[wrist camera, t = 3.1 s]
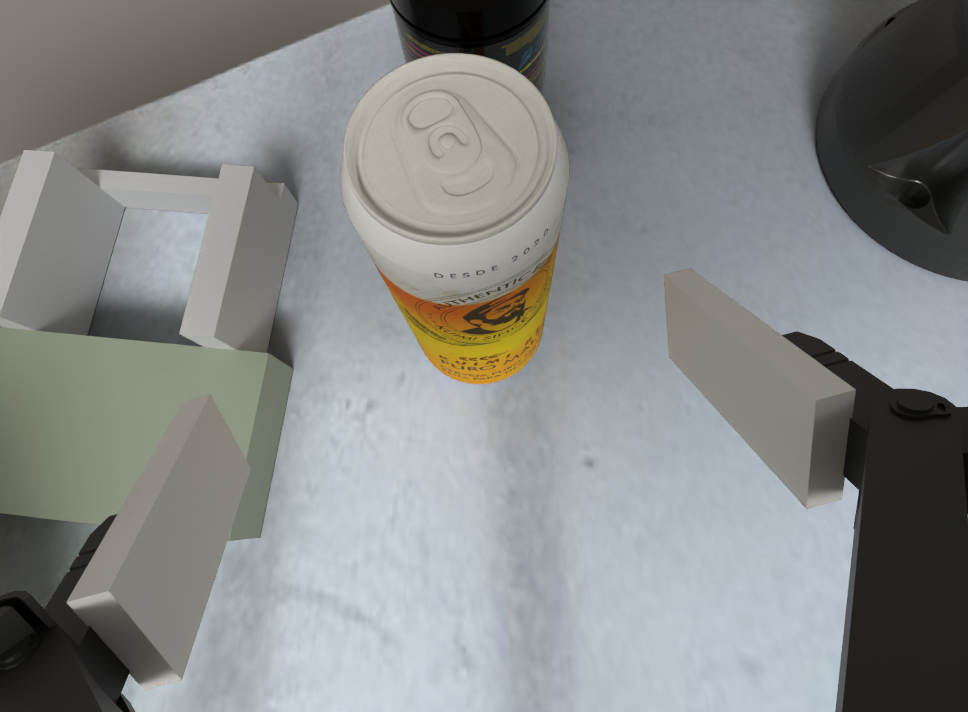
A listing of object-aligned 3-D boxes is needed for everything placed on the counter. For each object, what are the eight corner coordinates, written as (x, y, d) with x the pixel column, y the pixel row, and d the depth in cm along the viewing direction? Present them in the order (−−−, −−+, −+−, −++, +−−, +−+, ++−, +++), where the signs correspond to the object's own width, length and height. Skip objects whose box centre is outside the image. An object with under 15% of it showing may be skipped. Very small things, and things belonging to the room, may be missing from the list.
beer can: (454, 410, 28) (392, 301, 13) (399, 305, 29) (288, 103, 15) (564, 350, 28) (621, 182, 14) (504, 250, 30) (498, 3, 15)
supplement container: (553, 78, 32) (572, -118, 22) (528, 184, 31) (536, 24, 20) (437, 60, 33) (403, -139, 23) (406, 162, 31) (356, -3, 21)
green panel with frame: (325, 205, 31) (291, 149, 26) (259, 537, 26) (204, 543, 22) (78, 186, 32) (0, 128, 27) (-23, 503, 27) (-137, 502, 23)
